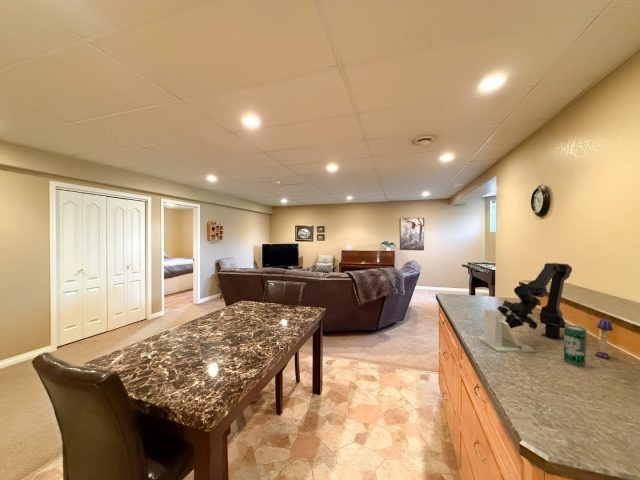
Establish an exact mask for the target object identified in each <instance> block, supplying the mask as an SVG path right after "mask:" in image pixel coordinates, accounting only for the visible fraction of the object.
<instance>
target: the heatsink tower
mask: <svg viewBox="0 0 640 480" xmlns="http://www.w3.org/2000/svg"><path fill="white" fill-rule="evenodd" d="M483 313H484V315H483V318H484V319H483V320H484V321H483V322H484V326H483V327H484V328H483V330H484V331H483V336H484V340H486V341H488V342H489V343H491V344H492V345H494V346H495V347H502V321H503V317H504V315H503V314H502V313H501V312H499V311H498V312H497V311H493V310H492V309H484V310H483Z"/></svg>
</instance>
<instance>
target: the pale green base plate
mask: <svg viewBox="0 0 640 480" xmlns="http://www.w3.org/2000/svg"><path fill="white" fill-rule="evenodd" d="M477 338H478V339H477ZM476 339H477V340H479V341H480V342H482V343H483V344H485V345H486V346H487V347H489V348H490V349H493V351H495V352H496V353H535V349H534V348H532V347H530V346H528V345H526V344H524V343H523V342H521V341H519V340H517V342H518V344H519V345H520V346H519V347H517V346H515V345H514V344H512V343H510V342H508V341H507V340H505V339H503V338H502V347H495V346H494V345H492V344H491V343H489V342H488V341H486V340H484V335H482V336H480V335H479V336H476Z"/></svg>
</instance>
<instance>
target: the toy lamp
mask: <svg viewBox="0 0 640 480" xmlns="http://www.w3.org/2000/svg"><path fill="white" fill-rule="evenodd" d="M596 328H597V329H600V330H601V332H600V333H601V335H600V343H599V344H600V346H599V348H600V349H599V351H597V352H595V356H597V357H599V358H602V359H606V360H609V359H611V358H610V355H609V354H608V353H607V351H606V350H607V342H608V341H607V340H608V332H612V331H613V330H614V328H613V325H612V321H611V320H609V319H606V318H600V319H599V321H598V323H597V325H596Z"/></svg>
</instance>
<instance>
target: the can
mask: <svg viewBox="0 0 640 480" xmlns="http://www.w3.org/2000/svg"><path fill="white" fill-rule="evenodd" d="M563 335H564V336H563V337H564V338H563V341H564V342H563V346H564V347H563V361H564V362H565V363H567V364H570V365H573V366H576V367H580V368H581V367H586V362H587V361H586V360H587V359H586V357H587V356H586V354H587V328H584V327H581V326H577V325H571V324H566V325H565V328H564V334H563Z"/></svg>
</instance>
